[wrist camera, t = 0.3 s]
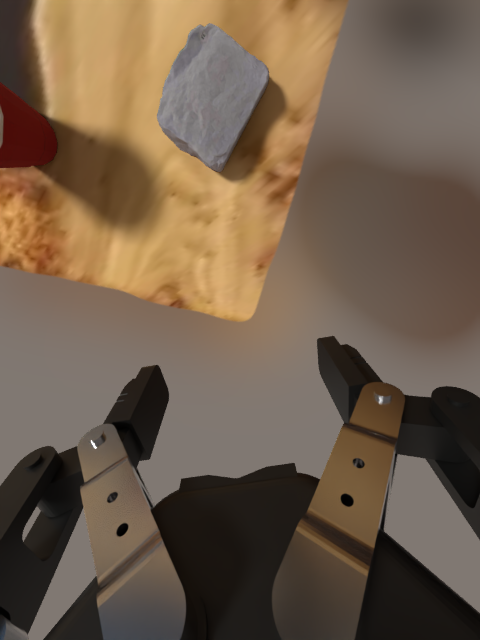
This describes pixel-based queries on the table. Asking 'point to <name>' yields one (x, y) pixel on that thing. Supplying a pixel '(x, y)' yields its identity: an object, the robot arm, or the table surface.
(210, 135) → the stone block
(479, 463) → the robot arm
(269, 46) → the table surface
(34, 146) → the plastic cup
